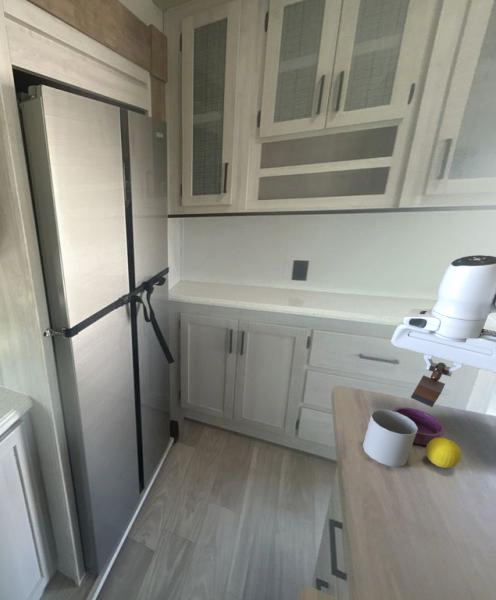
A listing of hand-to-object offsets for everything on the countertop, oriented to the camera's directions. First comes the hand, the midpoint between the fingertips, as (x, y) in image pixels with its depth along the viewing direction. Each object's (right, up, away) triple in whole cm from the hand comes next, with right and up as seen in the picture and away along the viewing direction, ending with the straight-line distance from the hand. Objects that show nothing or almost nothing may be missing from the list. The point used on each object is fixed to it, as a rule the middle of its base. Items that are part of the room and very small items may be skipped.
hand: (438, 372), depth 83 cm
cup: (-15, -20, -1) cm, 25 cm away
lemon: (-6, -21, -5) cm, 23 cm away
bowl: (-3, -17, +4) cm, 17 cm away
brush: (-3, -5, 0) cm, 5 cm away
